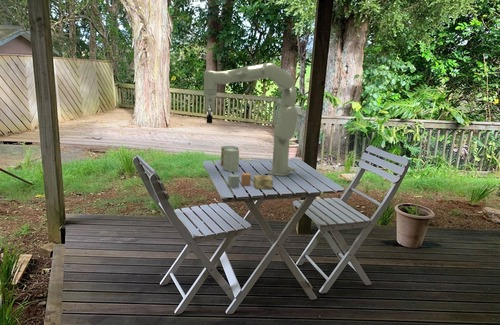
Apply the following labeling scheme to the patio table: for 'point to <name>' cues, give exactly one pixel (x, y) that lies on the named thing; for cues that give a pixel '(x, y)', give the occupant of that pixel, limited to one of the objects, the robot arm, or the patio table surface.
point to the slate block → (233, 180)
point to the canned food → (223, 151)
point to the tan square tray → (263, 182)
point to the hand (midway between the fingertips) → (209, 122)
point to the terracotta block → (245, 179)
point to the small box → (231, 160)
